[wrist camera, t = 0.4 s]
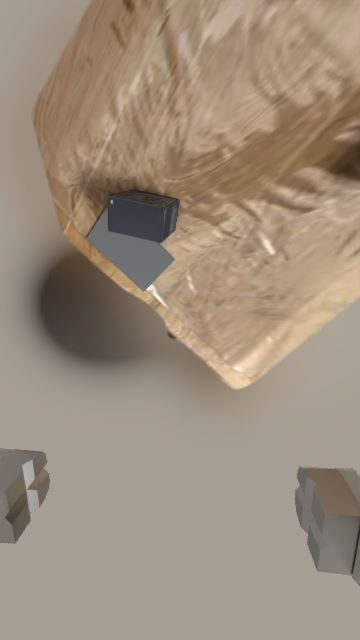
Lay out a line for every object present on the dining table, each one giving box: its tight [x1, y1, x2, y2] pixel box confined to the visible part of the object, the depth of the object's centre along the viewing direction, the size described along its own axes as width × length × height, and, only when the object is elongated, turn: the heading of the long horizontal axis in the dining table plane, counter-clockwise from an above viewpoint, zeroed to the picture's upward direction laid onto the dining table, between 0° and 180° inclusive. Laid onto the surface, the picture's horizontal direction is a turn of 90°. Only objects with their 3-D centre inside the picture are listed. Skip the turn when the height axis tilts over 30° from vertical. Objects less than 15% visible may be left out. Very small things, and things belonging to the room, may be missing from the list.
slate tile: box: [87, 206, 175, 291], centre depth 60 cm, size 12×18×1 cm, turn 48°
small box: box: [107, 190, 179, 243], centre depth 50 cm, size 11×6×10 cm, turn 81°
